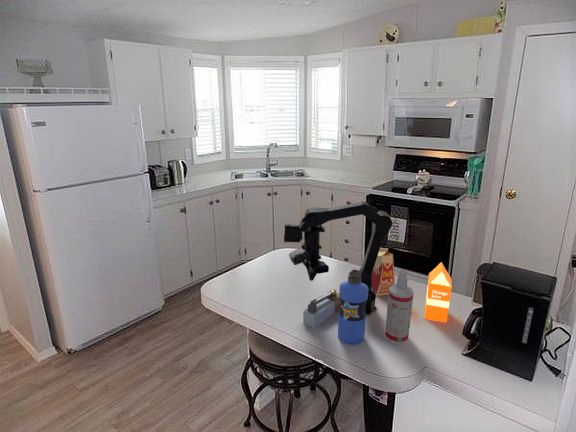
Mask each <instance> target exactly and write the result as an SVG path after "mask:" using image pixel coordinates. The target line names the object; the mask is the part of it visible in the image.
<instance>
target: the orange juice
mask: <svg viewBox="0 0 576 432" xmlns="http://www.w3.org/2000/svg"><path fill="white" fill-rule="evenodd" d="M427 281H428V283H427V288H426V297H425V304H424V305H425V306H424V319H425V320H430V321H436V322H441V323H447V321H448V314H449V309H450V303H451V302H450V301H451V294H452V289H453V287H452V278H451V276H450V274H449V273H448V271H447V269H446V268H445V265H444V264H443V262H442V261H441V262H440V263H438V265H436V267H435V268H433V270H431V271H430V272H429V273H428V280H427Z"/></svg>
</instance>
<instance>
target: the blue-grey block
mask: <svg viewBox="0 0 576 432" xmlns="http://www.w3.org/2000/svg"><path fill="white" fill-rule="evenodd" d="M302 313H303V314H302V316H303V317H302V319H303V321H302V324H305V325H306V326H309V327H311V328H313V329H315V328H317V327H318V326H319V325H321V324H322V323H324V322H325V321H326V320H327V319H328V318H330V317H331V316H333V315H334V314H335V301H332V300H330V299H326V300H324V301H322V302H320V303H318V304H316V305H315V304H313V303H308V304H307V308H305V310H303V312H302Z"/></svg>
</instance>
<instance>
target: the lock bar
mask: <svg viewBox="0 0 576 432" xmlns="http://www.w3.org/2000/svg"><path fill="white" fill-rule="evenodd" d="M336 293H337V289H335V288H331V289H330V290H329V291H328V292H326V293H324V294H322V295H320V296H317V297H316V298H314V299H312V300H310V303H313V304H315V305H316V304H318V303H320V302H322V301H324V300H326V299H328V298H329V297H331V296H336ZM310 303H309V304H310Z"/></svg>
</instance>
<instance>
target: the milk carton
mask: <svg viewBox="0 0 576 432" xmlns="http://www.w3.org/2000/svg"><path fill="white" fill-rule="evenodd" d="M394 267H395V265H394V254H393V252H390V251H389V248H387V247H385V248H384V247H380V250H379V253H378V256H377V259H376V262H375V265H374V268H373V272H372V285H373V288H374V291H375V293H376V297H378V296H384V295H385V296H386V295H389V287H390V286H392V285H396V281H395V278H396V277H395V268H394Z"/></svg>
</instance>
